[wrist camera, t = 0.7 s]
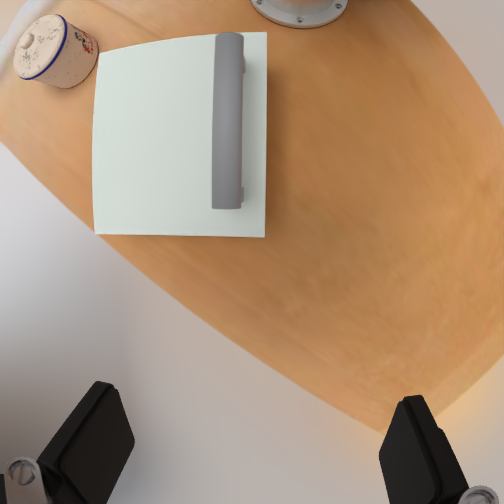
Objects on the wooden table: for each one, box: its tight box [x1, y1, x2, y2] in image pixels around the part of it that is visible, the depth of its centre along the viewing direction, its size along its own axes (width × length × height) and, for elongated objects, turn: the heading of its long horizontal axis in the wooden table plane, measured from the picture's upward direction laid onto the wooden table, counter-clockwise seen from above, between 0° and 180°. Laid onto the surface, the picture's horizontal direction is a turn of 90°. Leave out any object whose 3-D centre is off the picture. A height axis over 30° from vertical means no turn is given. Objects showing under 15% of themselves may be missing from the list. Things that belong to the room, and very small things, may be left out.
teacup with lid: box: [13, 14, 98, 88], centre depth 27 cm, size 12×9×12 cm
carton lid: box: [92, 32, 267, 237], centre depth 23 cm, size 18×16×7 cm
